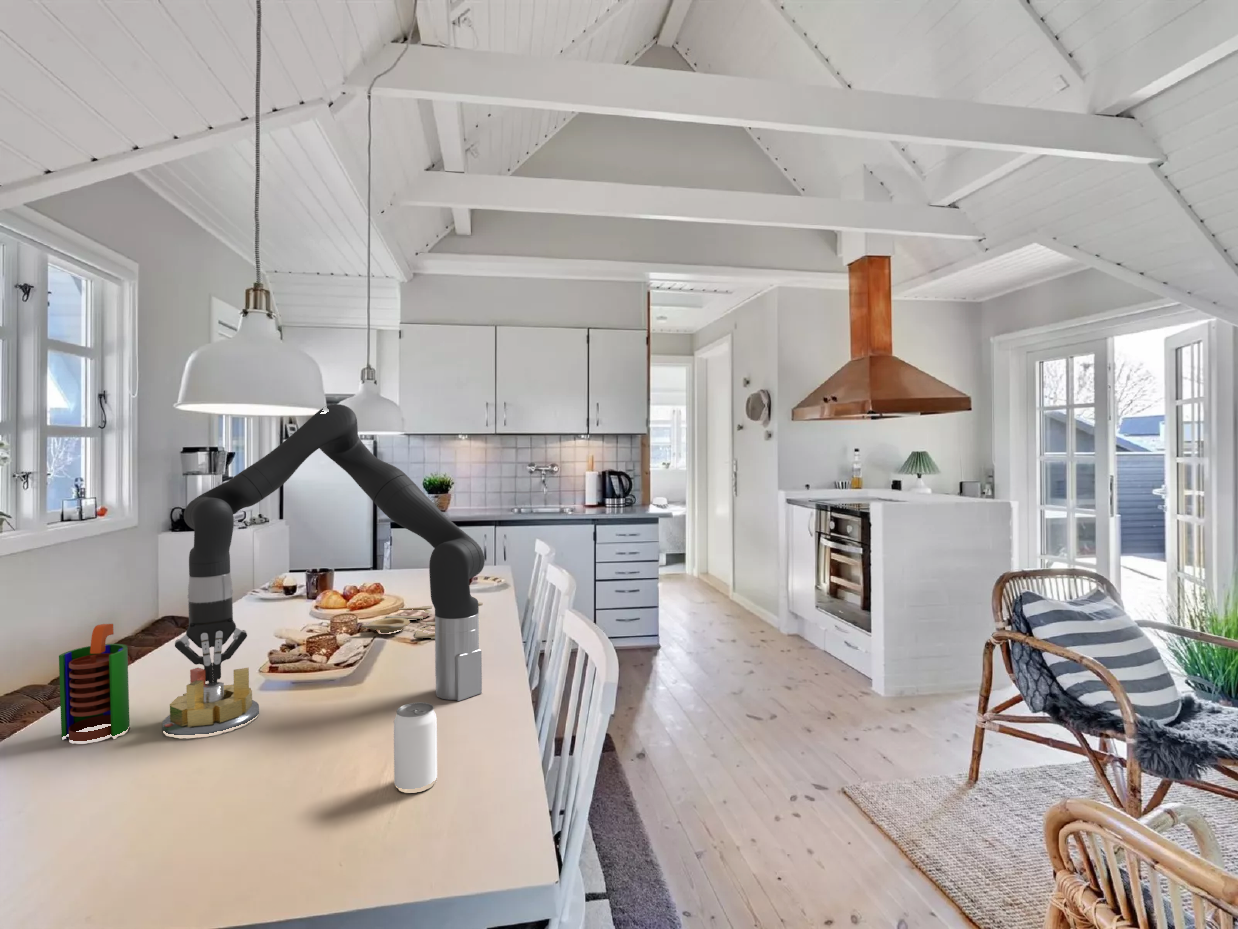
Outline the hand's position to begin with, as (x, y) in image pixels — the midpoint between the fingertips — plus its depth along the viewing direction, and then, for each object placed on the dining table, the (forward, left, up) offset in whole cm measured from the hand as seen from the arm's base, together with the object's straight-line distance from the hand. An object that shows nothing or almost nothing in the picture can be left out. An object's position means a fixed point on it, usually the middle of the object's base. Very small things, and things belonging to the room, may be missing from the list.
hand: (212, 682), depth 133 cm
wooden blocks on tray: (-5, +2, -4) cm, 7 cm away
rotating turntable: (-5, +2, -6) cm, 8 cm away
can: (-57, -10, -6) cm, 58 cm away
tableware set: (+26, -66, -7) cm, 71 cm away
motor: (+5, +18, -6) cm, 20 cm away
